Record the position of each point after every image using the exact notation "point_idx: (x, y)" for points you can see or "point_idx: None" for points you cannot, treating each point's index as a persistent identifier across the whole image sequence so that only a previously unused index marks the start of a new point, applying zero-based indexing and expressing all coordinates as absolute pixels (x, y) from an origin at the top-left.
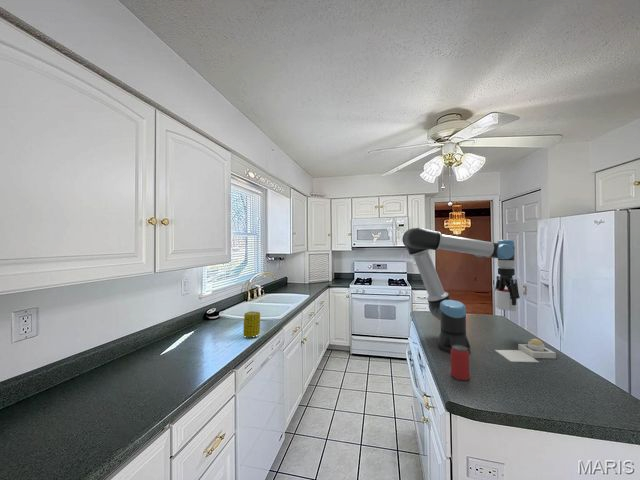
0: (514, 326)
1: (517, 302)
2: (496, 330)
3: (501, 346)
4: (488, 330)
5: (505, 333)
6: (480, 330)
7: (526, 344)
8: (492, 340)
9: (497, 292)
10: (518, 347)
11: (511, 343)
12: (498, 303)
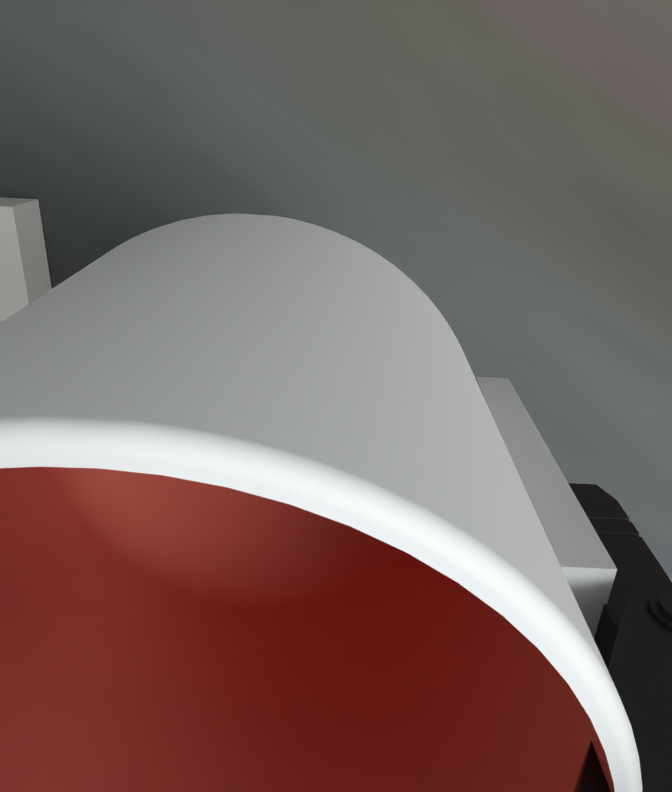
0: (668, 570)
1: (51, 653)
2: (595, 326)
3: (87, 52)
4: (613, 232)
5: (489, 362)
6: (634, 124)
7: (18, 290)
8: (275, 61)
9: (54, 377)
10: (23, 201)
11: None
12: (162, 236)
